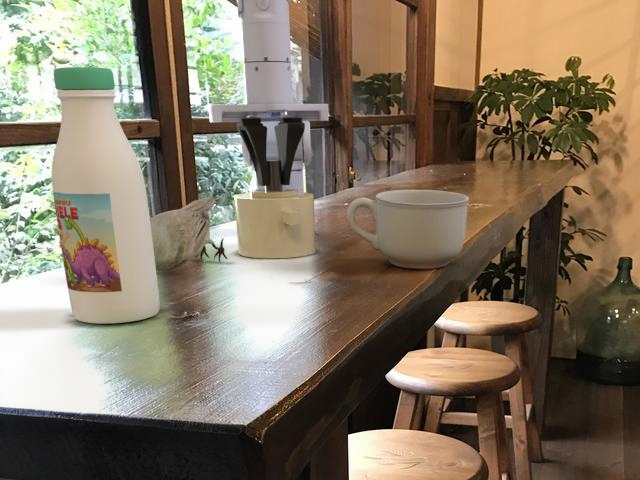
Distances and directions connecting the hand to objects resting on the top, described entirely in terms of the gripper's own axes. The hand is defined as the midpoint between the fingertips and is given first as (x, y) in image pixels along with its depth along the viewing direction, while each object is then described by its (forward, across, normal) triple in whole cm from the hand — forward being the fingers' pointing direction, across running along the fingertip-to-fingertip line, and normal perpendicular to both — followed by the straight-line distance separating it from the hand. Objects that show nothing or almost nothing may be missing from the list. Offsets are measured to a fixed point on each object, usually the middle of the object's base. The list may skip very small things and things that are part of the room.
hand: (273, 185), depth 101 cm
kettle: (+8, 0, 0) cm, 8 cm away
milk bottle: (+8, -24, -28) cm, 38 cm away
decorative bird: (+8, -15, -8) cm, 19 cm away
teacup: (+8, +11, -16) cm, 21 cm away
